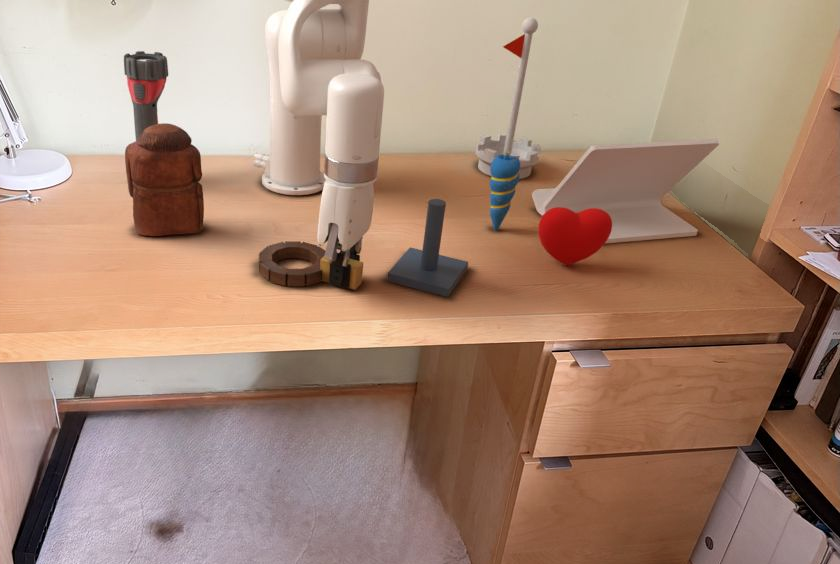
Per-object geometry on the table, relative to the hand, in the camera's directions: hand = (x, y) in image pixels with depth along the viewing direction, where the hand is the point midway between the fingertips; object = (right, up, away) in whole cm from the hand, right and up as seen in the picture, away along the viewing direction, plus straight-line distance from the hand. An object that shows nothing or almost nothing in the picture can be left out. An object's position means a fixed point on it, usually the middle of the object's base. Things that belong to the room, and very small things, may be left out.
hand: (343, 280), depth 119 cm
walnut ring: (-5, +1, +2) cm, 6 cm away
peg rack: (+13, +1, +4) cm, 14 cm away
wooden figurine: (-30, +9, +12) cm, 33 cm away
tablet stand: (+50, +13, +26) cm, 58 cm away
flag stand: (+34, +26, +44) cm, 62 cm away
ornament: (+27, +10, +19) cm, 35 cm away
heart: (+37, +3, +9) cm, 38 cm away
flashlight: (-36, +22, +30) cm, 52 cm away
